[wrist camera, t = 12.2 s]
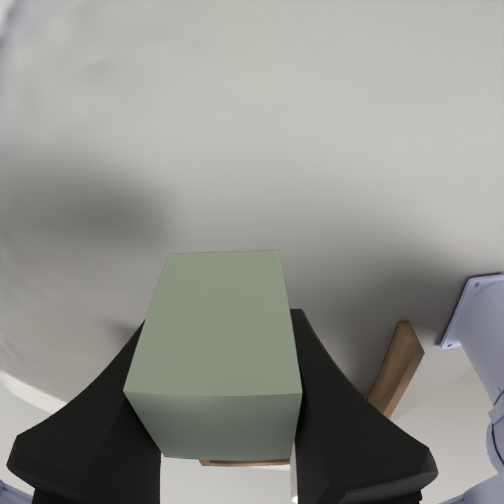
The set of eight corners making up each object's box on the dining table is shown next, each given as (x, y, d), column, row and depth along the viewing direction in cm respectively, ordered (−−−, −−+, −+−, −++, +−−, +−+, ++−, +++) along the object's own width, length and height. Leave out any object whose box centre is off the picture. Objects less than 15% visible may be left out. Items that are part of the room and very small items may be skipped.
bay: (408, 321, 23) (424, 352, 20) (360, 429, 33) (365, 453, 30) (166, 335, 23) (157, 371, 20) (203, 440, 33) (201, 465, 30)
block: (279, 250, 11) (302, 392, 6) (277, 329, 14) (290, 458, 8) (169, 253, 11) (122, 390, 6) (185, 331, 14) (164, 457, 8)
